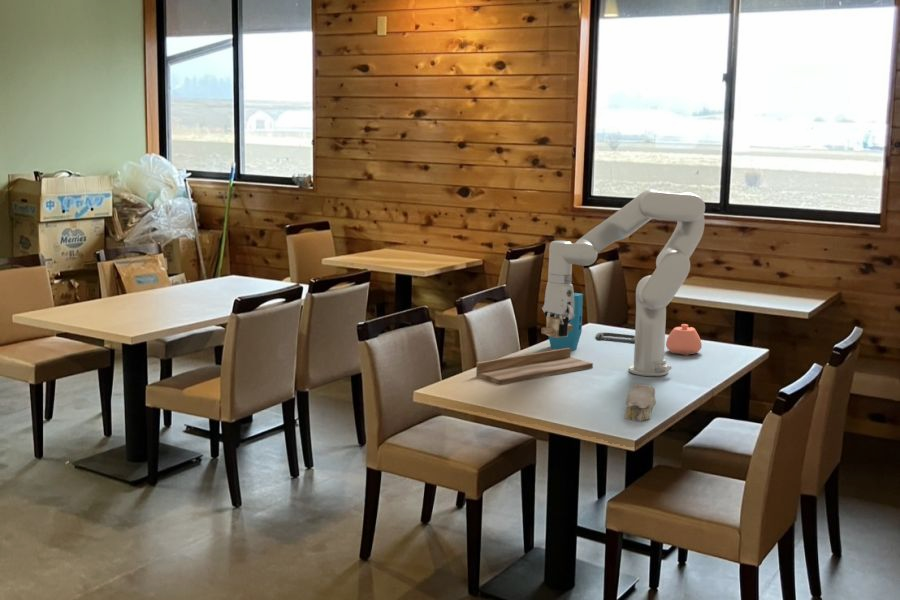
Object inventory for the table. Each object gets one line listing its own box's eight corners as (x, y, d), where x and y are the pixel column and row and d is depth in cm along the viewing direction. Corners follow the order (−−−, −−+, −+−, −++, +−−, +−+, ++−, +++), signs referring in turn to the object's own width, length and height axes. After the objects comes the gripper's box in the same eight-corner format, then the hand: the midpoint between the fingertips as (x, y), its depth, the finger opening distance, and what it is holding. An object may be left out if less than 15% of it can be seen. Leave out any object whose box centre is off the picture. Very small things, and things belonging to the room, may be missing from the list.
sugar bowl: (659, 352, 346) (660, 324, 344) (678, 346, 356) (680, 319, 355) (690, 358, 338) (691, 329, 336) (709, 351, 348) (711, 323, 347)
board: (592, 367, 323) (593, 354, 323) (499, 384, 301) (499, 370, 300) (568, 360, 333) (568, 347, 332) (476, 376, 311) (476, 362, 310)
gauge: (575, 335, 320) (576, 315, 319) (547, 339, 313) (548, 319, 312) (565, 332, 324) (566, 313, 323) (537, 336, 317) (538, 316, 316)
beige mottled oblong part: (650, 423, 264) (651, 406, 263) (622, 421, 266) (623, 403, 265) (656, 400, 287) (657, 383, 286) (631, 398, 289) (631, 381, 288)
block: (545, 347, 353) (547, 292, 349) (551, 344, 357) (553, 290, 354) (576, 351, 347) (578, 295, 343) (581, 348, 351) (583, 293, 347)
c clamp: (653, 340, 369) (653, 333, 368) (637, 349, 354) (638, 341, 354) (602, 334, 379) (602, 327, 378) (585, 342, 364) (585, 335, 363)
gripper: (586, 282, 311) (583, 338, 314) (551, 274, 324) (548, 328, 327) (568, 283, 306) (565, 340, 309) (533, 276, 320) (531, 330, 323)
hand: (557, 333), depth 318 cm, fingers closed on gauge, 5 cm apart
